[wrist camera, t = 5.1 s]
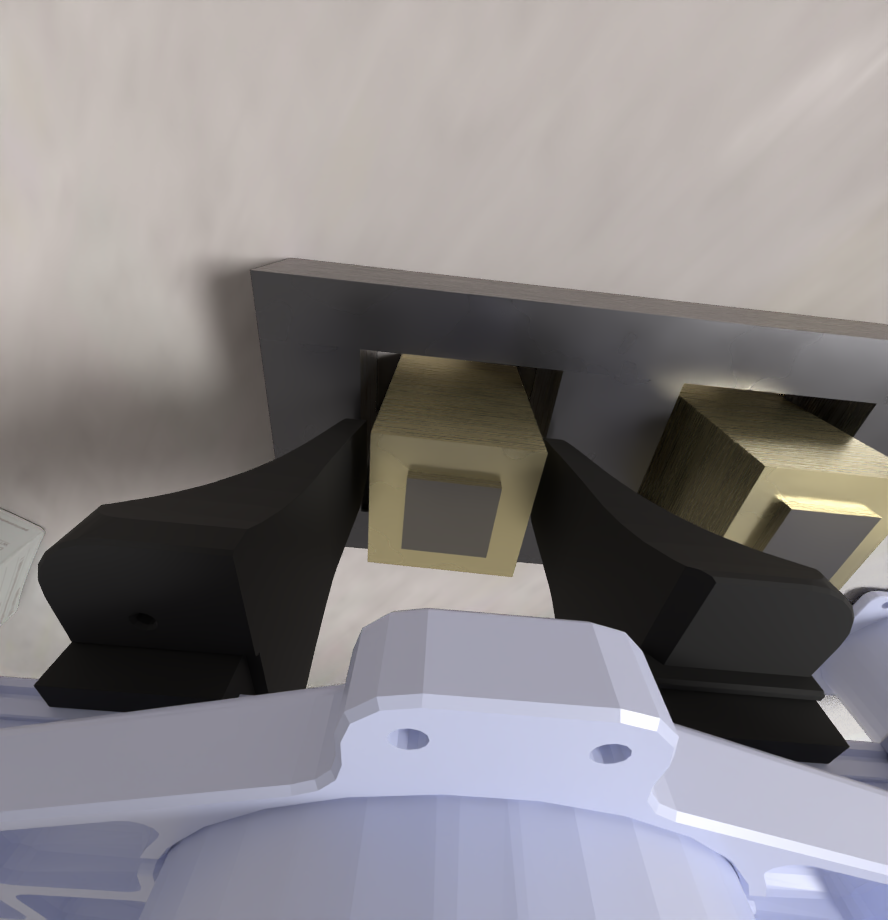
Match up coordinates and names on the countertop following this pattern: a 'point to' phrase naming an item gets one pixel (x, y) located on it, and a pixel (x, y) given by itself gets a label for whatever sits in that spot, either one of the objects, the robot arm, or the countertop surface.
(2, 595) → the supplement box
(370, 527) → the block
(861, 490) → the seated nut
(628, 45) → the countertop surface
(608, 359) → the rail
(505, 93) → the countertop surface
